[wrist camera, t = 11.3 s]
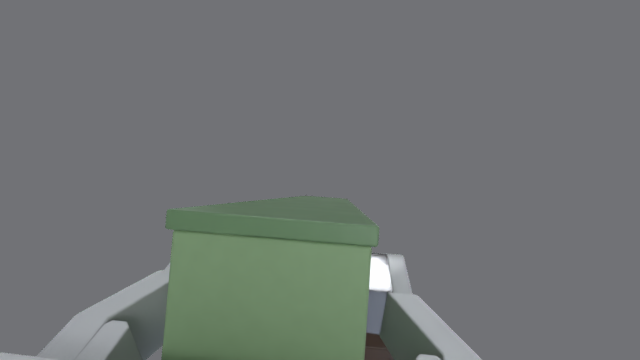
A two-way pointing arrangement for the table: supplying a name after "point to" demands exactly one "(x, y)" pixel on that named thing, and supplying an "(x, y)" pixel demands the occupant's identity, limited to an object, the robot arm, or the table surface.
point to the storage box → (269, 280)
